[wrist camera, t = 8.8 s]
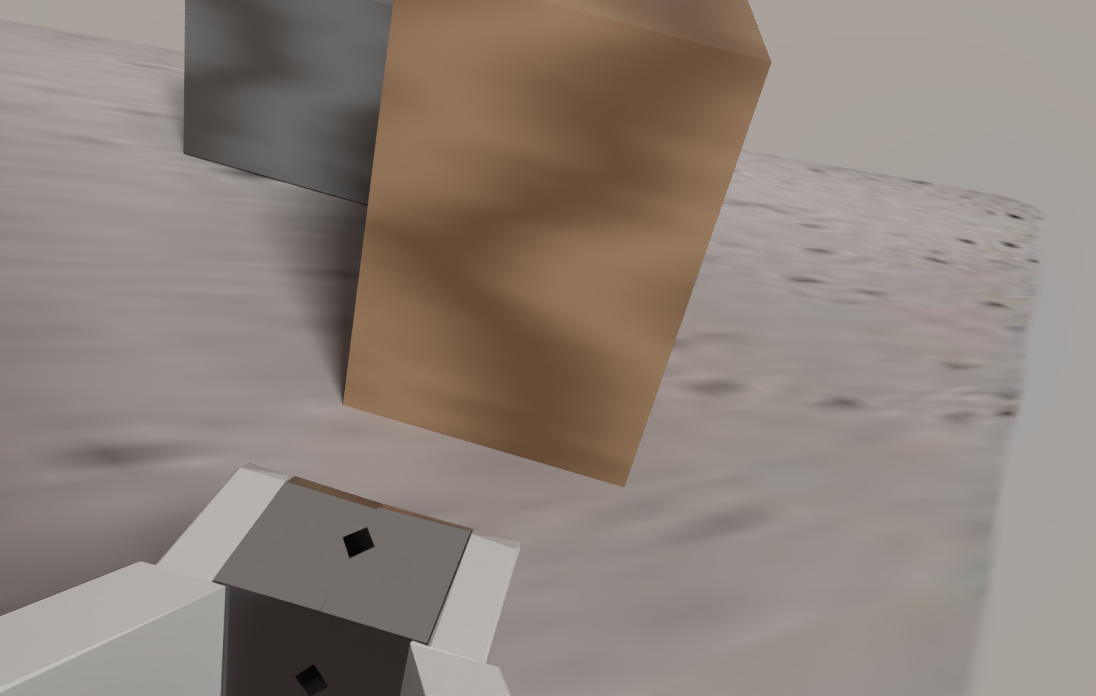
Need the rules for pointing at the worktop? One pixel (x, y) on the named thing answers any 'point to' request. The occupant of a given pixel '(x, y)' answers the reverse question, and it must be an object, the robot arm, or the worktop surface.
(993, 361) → the worktop surface
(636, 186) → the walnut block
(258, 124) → the charcoal board
